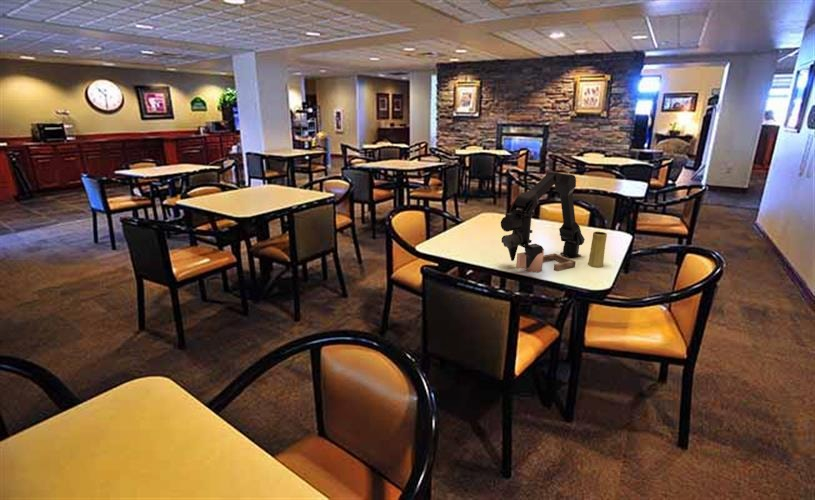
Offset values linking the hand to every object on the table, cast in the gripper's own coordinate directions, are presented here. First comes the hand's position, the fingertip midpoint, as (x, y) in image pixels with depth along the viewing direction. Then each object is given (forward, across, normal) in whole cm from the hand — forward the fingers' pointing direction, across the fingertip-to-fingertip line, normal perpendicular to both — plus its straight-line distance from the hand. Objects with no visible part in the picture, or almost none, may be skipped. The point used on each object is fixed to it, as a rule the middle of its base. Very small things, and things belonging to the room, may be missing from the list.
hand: (519, 264), depth 177 cm
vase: (+4, +8, +35) cm, 36 cm away
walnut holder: (+4, 0, +19) cm, 19 cm away
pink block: (+4, 0, +5) cm, 6 cm away
